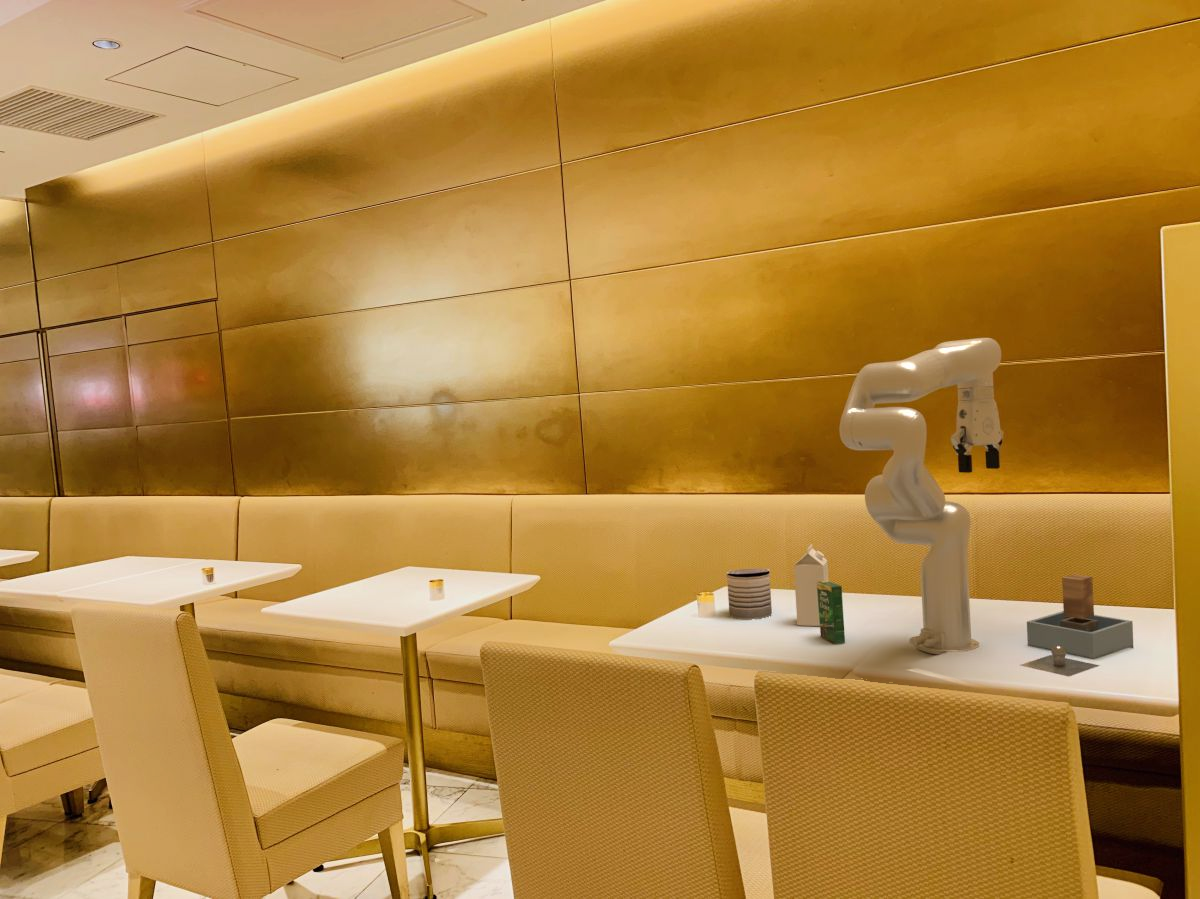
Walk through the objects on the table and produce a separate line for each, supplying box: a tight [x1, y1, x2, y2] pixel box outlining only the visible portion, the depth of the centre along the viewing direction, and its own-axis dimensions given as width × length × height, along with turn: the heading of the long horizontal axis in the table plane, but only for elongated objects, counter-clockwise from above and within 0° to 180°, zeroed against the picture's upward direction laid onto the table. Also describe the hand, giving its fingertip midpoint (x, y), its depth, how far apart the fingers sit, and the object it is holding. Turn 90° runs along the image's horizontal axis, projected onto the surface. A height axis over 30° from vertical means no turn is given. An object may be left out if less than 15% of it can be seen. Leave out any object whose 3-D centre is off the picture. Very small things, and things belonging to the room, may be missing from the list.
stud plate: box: [1020, 645, 1101, 678], centre depth 174 cm, size 10×10×5 cm
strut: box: [1060, 574, 1098, 632], centre depth 185 cm, size 5×5×14 cm
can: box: [726, 568, 773, 621], centre depth 235 cm, size 11×11×12 cm
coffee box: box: [817, 580, 846, 645], centre depth 206 cm, size 8×3×13 cm, turn 10°
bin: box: [1026, 610, 1134, 660], centre depth 186 cm, size 14×14×6 cm
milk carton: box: [793, 544, 830, 627], centre depth 222 cm, size 7×7×19 cm
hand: (979, 470), depth 206 cm, fingers open, 9 cm apart
